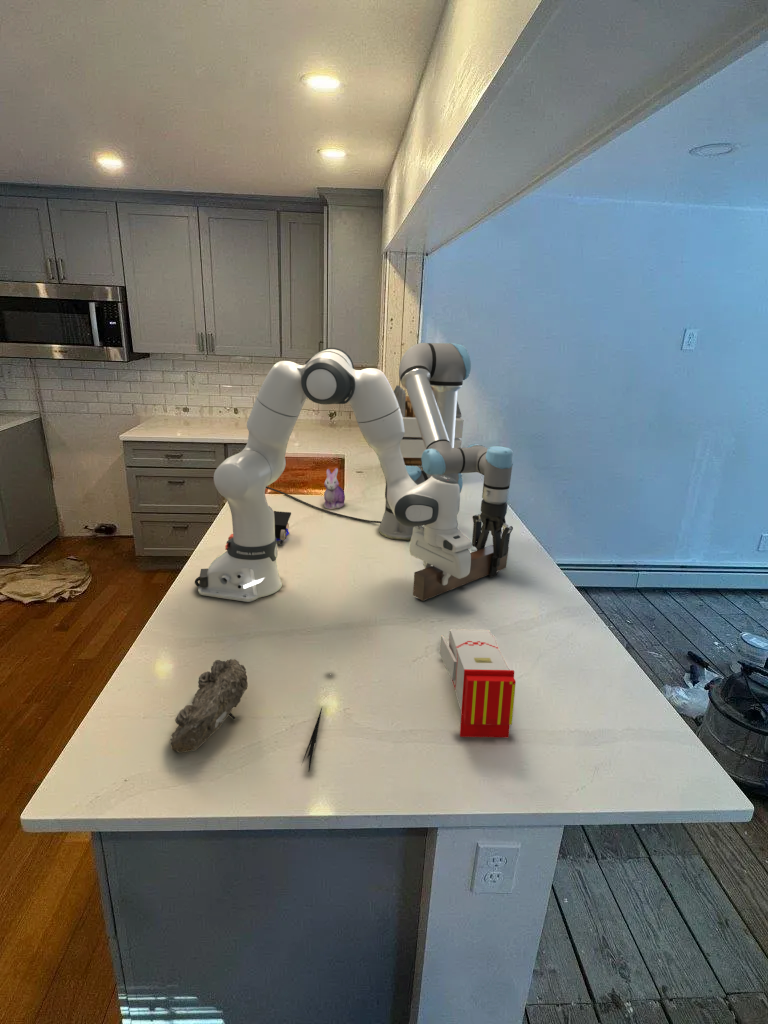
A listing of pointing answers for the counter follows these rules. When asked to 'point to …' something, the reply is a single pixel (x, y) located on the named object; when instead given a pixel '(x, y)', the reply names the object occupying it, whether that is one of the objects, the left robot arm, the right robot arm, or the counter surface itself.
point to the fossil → (210, 704)
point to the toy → (479, 682)
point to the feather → (313, 740)
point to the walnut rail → (430, 577)
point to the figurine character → (281, 525)
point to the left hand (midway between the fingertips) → (436, 580)
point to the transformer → (418, 431)
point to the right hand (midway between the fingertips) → (486, 572)
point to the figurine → (333, 491)
